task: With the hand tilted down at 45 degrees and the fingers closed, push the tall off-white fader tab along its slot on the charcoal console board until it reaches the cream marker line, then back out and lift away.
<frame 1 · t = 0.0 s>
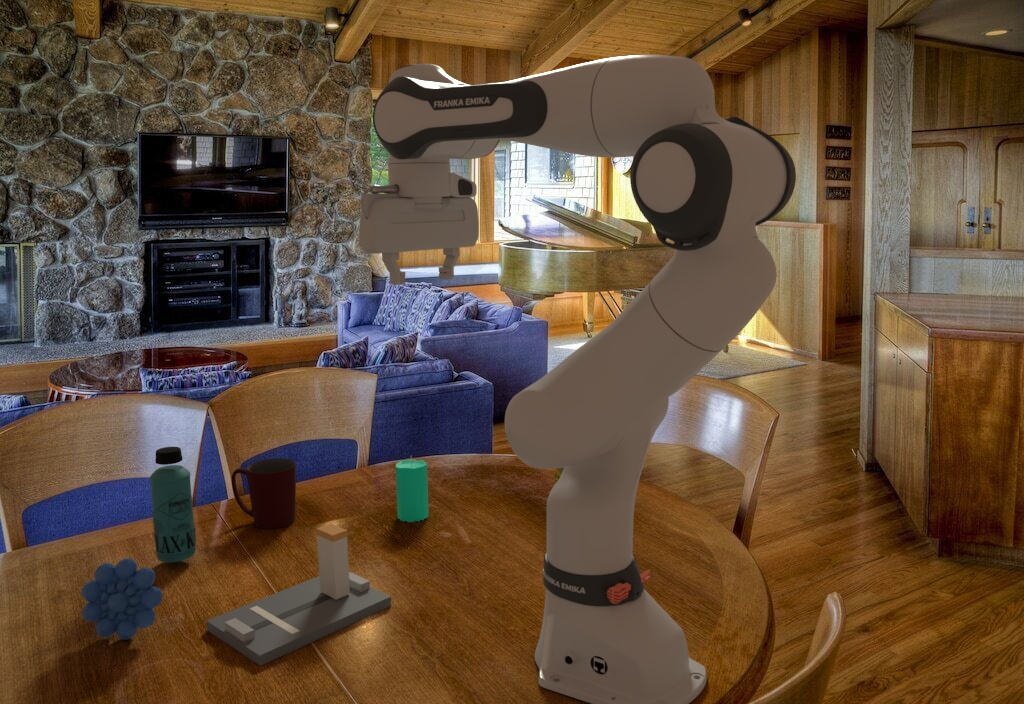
hand: (422, 281, 124), 48 cm above the table, tool pointing down, fingers open, 8 cm apart
blue flower: (129, 636, 120), on the table
candle: (413, 517, 163), on the table
fader tab: (333, 561, 127), point 7 cm above the table, slide at -6.0 cm
supplement bottle: (571, 502, 170), on the table
beverage bottle: (177, 564, 143), on the table
console board: (301, 617, 124), on the table
mug: (266, 522, 161), on the table
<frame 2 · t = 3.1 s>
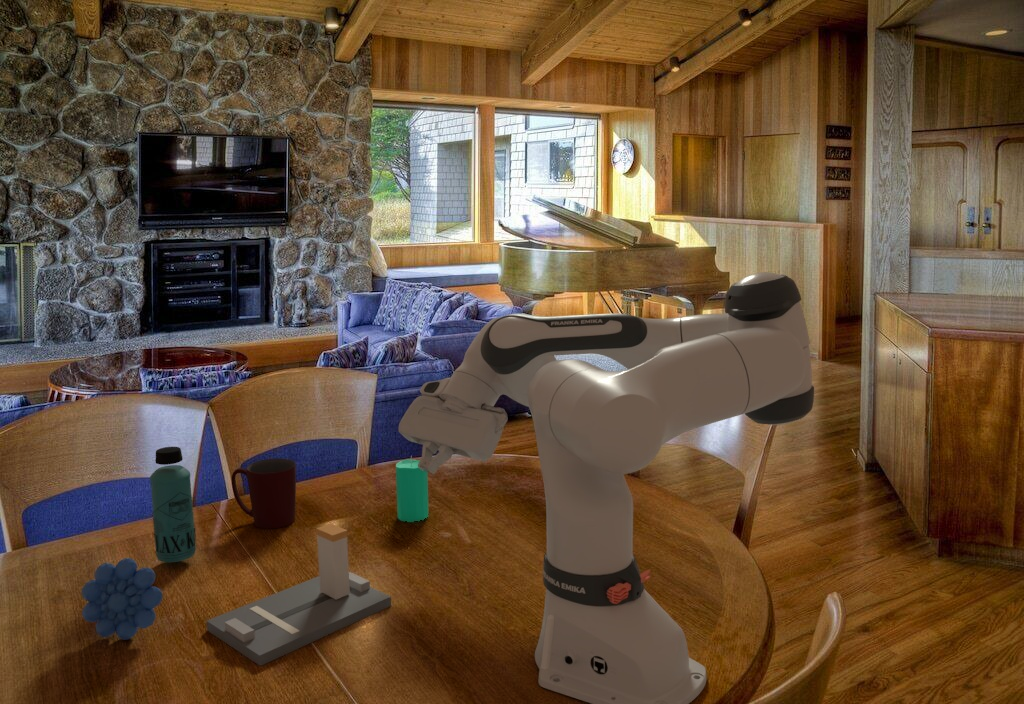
hand: (425, 470, 139), 16 cm above the table, tool tilted 45°, fingers closed
nothing on the table moved.
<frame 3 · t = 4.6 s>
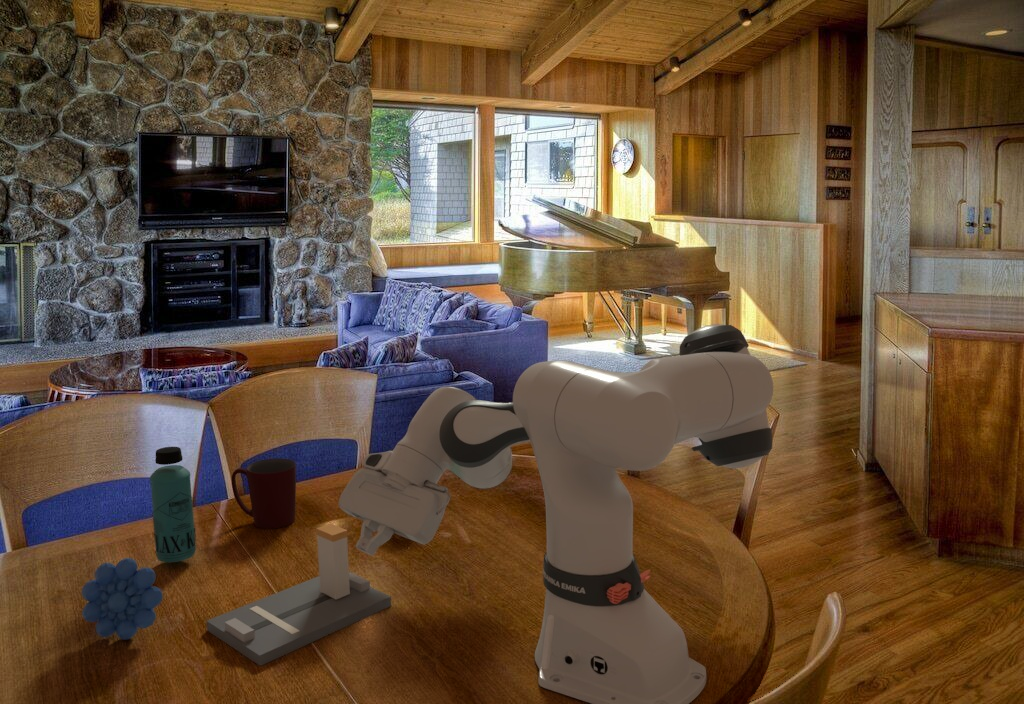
hand: (363, 551, 131), 6 cm above the table, tool tilted 45°, fingers closed
nothing on the table moved.
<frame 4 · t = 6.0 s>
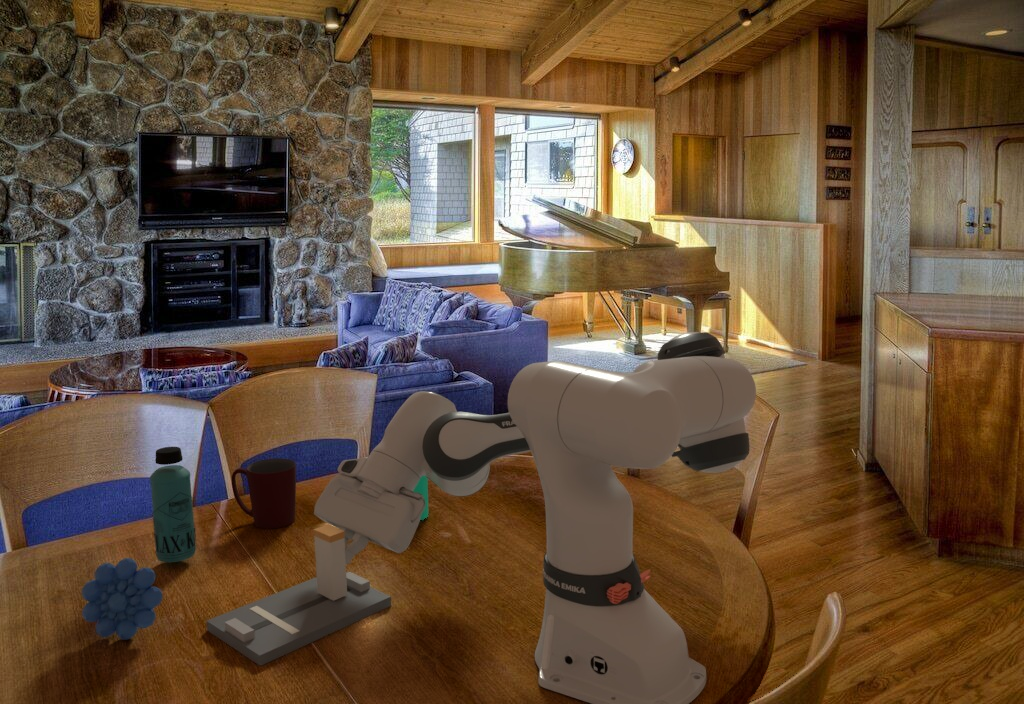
hand: (338, 560, 129), 6 cm above the table, tool tilted 45°, fingers closed
fader tab: (330, 562, 127), point 7 cm above the table, slide at -5.5 cm, touching gripper
everything else where it was.
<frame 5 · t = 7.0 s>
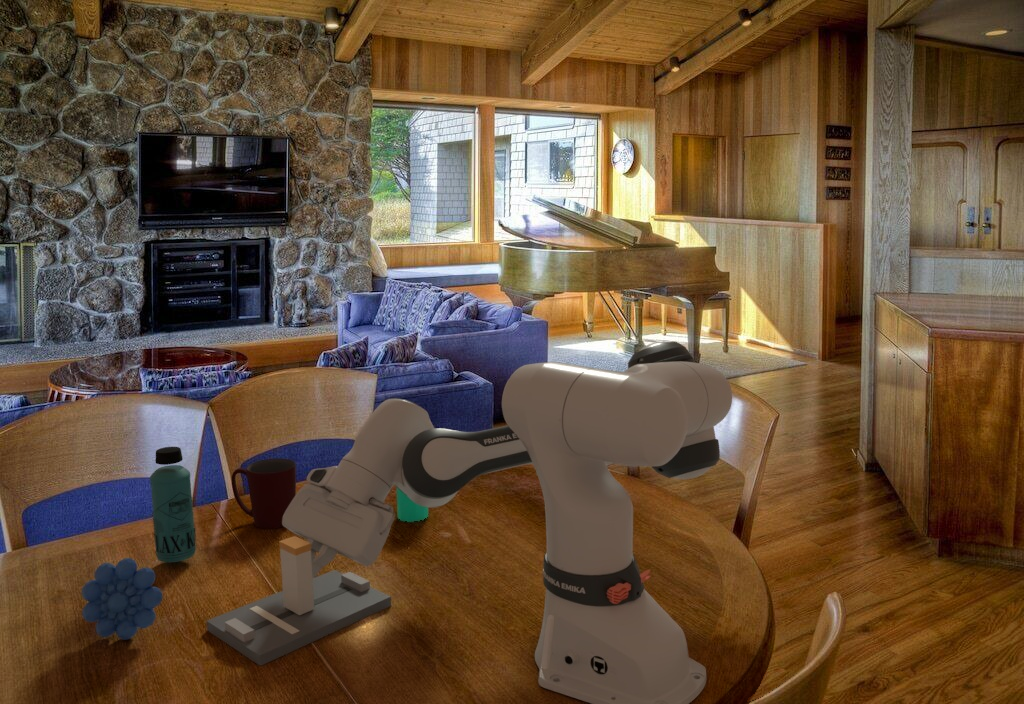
hand: (305, 573, 125), 6 cm above the table, tool tilted 45°, fingers closed
fader tab: (297, 575, 123), point 7 cm above the table, slide at 0.3 cm, touching gripper
everything else where it was.
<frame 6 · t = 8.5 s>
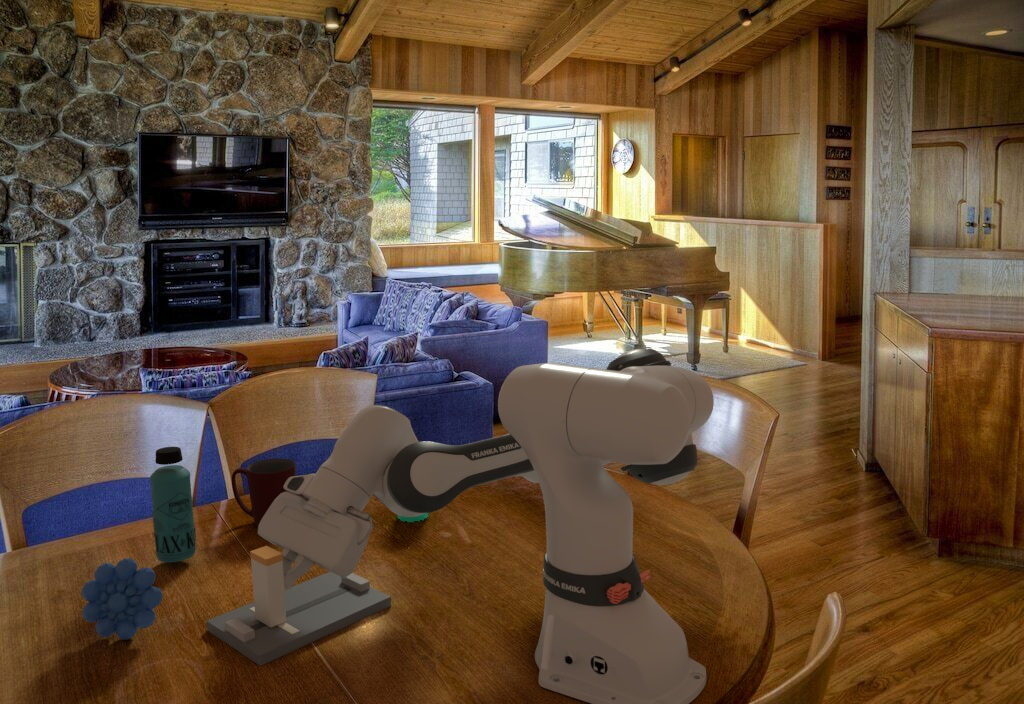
hand: (280, 584, 121), 6 cm above the table, tool tilted 45°, fingers closed, pressing on fader tab
fader tab: (268, 586, 119), point 7 cm above the table, slide at 5.0 cm, touching gripper
everything else where it was.
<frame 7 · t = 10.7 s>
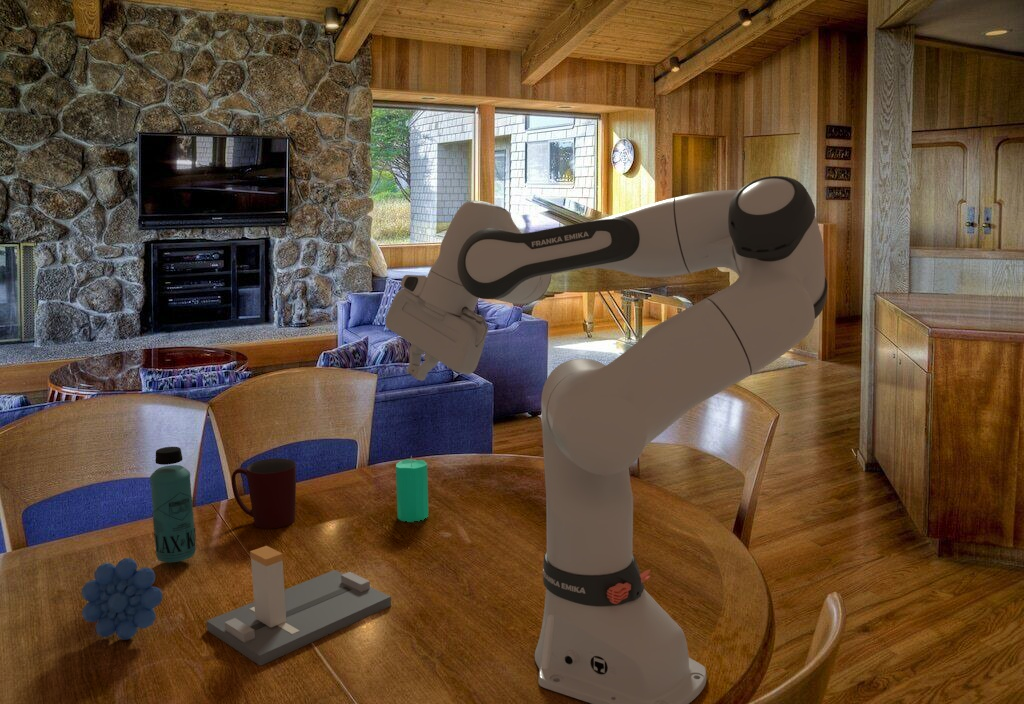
hand: (414, 376, 137), 32 cm above the table, tool tilted 25°, fingers closed
fader tab: (268, 586, 119), point 7 cm above the table, slide at 5.0 cm
everything else where it was.
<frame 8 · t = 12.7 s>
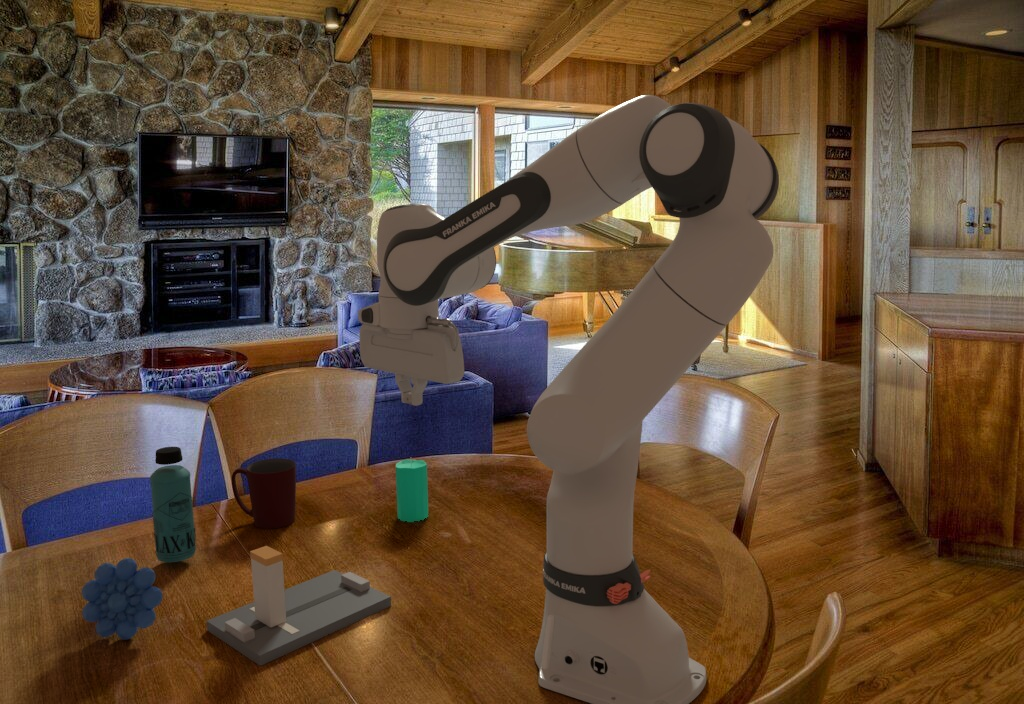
hand: (412, 403, 130), 29 cm above the table, tool pointing down, fingers closed
nothing on the table moved.
at the end: fader tab slide at 5.0 cm; fader tab touching nothing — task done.
